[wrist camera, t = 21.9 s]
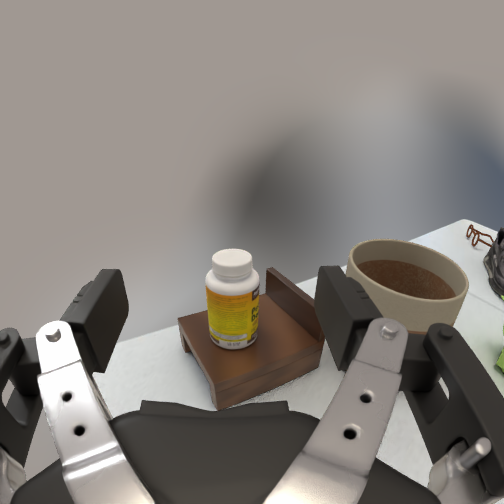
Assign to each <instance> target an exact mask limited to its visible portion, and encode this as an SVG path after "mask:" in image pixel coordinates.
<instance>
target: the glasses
mask: <svg viewBox="0 0 504 504" xmlns="http://www.w3.org/2000/svg"><path fill="white" fill-rule="evenodd" d="M471 226H472V227H471ZM469 229H472V230H471V233H470V235H469V236H468V231H469ZM473 230H474V231H476V233H475V232H474V231H473ZM472 232H473V233H474V237H473V240H472V246H476V244H477V243H478V241H480V242H482V243H484V244H486V245H488V246H490V247H492V245H490V244H488V243H486V242H485V241H483V240H481V239H479V236H480V235H479V234H481V235H484V236H488V237H490V239H491V240H492V242H494V241H493V239H492V237H491V236H490V235H488V234H483V233H481V232H479V231H477V230H475V229H474V228H473V225H472V224H471V225H470V226H469V228H468V230H467V234H466V236H467V237H468V238H469V237H470V236H471V234H472ZM477 234H478V238H477V241H476V243H475V244H474V243H473V242H474V238H475V236H476V235H477Z"/></svg>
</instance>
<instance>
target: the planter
mask: <svg viewBox="0 0 504 504" xmlns="http://www.w3.org/2000/svg"><path fill="white" fill-rule="evenodd" d="M346 277H352V278H353V279H355V280H356V281H357V282H359V283H360V284H361V285H362V287H363V288H364V289H365V292H367V294H368V295H369V297H370V299H372V301H373V302H374V304H375V305H376V307H377V308H378V310H379V311H380V313H381V314H382V316H383V317H384V318H390V319H394V320H396V321H398V322H400V323H401V324H403V325H404V326H405V327H406V329H407V331H408V333H413V334H424V335H426V333H427V331H428V329H429V327H430V325H432V324H434V323H445V324H448V325H450V326H452V327H453V325H454V323H455V320H456V318H457V316H458V314H459V311H460V309H461V306H462V304H463V301H464V299H465V296H466V294H467V291H468V288H469V282H468V279H467V276H466V274H465V273H464V271H463V270H462V269H461V268H460V267H459V266H458V265H457V264H456V263H455V262H454V261H452V260H451V259H449V258H448V257H446V256H445V255H443V254H441V253H439V252H437V251H435V250H433V249H430V248H428V247H425V246H422V245H419V244H415V243H411V242H407V241H401V240H394V239H373V240H368V241H364V242H361V243H359V244H357V245H355V246H354V247H353V248H352V249H351V251H350V253H349V259H348V264H347V270H346ZM347 370H348V369H347Z"/></svg>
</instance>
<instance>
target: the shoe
mask: <svg viewBox="0 0 504 504" xmlns="http://www.w3.org/2000/svg"><path fill="white" fill-rule="evenodd" d="M484 264H485V266H486V268H487V270H488V272H489V282H490V285H491V287H492V288H493V289H494V291H496V292H497V293H498V294H500V295H501V296H504V228H502V227H501V229H500V231H499V232H498V234H497V238H496V240H495V241H494V242H493V244H492V247H491V248H490V250H489V252H488V254H487V255H486V256H485V258H484Z"/></svg>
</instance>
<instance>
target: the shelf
mask: <svg viewBox="0 0 504 504" xmlns="http://www.w3.org/2000/svg"><path fill="white" fill-rule="evenodd" d="M266 272H267V273H266V293H265V294H262V295H259V309H258V333H257V337H256V339H255V340H254V342H253V343H252V344H250V345H249V346H247V347H245V348H241V349H226V348H222V347H220V346H218V345H217V344H215V343H214V342H213V340H212V339H211V336H210V331H209V320H208V310H206V311H203V312H199V313H195V314H191V315H188V316H184V317H180V318H178V324H179V330H180V336H181V342H182V346H183V348H184V350H185V352H190V351H192V353H193V355H194V356H195V358H196V360H197V362H198V364H199V366H200V367H201V369H202V371H203V373H204V375H205V376H206V378H207V380H208V382H209V383H210V390H211V397H212V402H213V404H214V406H215V407H216V409H217V411H219V410H222V409H224V408H227V407H230V406H232V405H235V404H238V403H240V402H243V401H245V400H248V399H250V398H253V397H255V396H257V395H260V394H262V393H264V392H267V391H269V390H271V389H274V388H276V387H278V386H280V385H282V384H285V383H287V382H289V381H291V380H293V379H295V378H297V377H300V376H302V375H304V374H306V373H308V372H310V371H312V370H314V369H316V368H318V366H319V362H320V358H321V354H322V350H323V345H324V341H325V335H324V333H323V330H322V328H321V326H320V323H319V321H318V318H317V316H316V313H315V308H314V299H313V298H311V297H310V296H309V295H308V294H306V293H305V292H304V291H302V290H301V289H300V288H299V287H297V286H296V285H295V284H293V283H292V282H291V281H290V280H288V279H287V278H286V277H284V276H283V275H282V274H280V273H279V272H278V271H277V270H275V269H274V268H273V267H272V268H268V269H267V271H266Z"/></svg>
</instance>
